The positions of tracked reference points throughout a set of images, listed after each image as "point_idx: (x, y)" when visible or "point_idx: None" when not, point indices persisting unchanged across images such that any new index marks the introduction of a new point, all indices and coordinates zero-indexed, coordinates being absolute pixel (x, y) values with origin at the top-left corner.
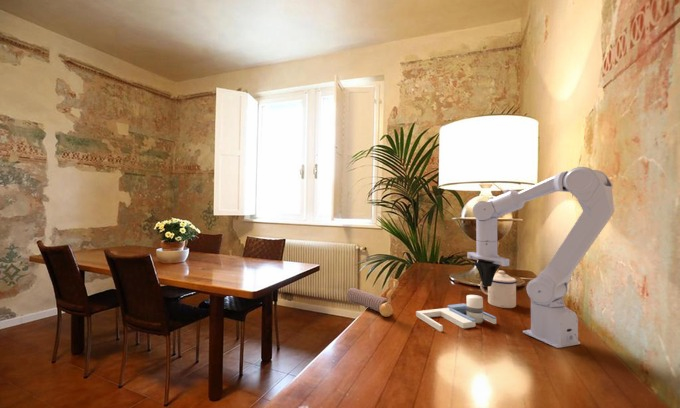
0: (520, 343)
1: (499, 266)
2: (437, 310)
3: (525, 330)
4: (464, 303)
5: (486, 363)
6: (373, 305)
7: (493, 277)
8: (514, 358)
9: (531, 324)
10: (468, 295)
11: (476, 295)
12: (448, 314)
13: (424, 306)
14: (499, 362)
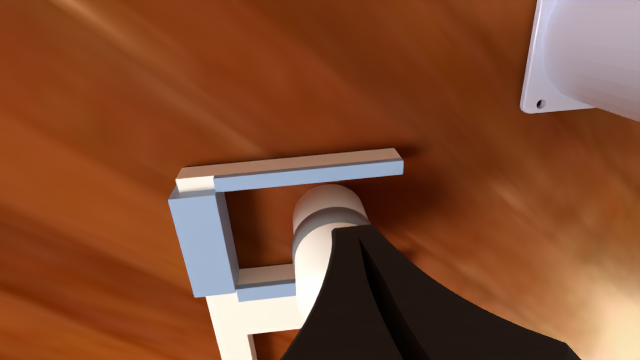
0: (571, 192)
1: (563, 345)
2: (236, 342)
3: (528, 95)
4: (170, 199)
5: (590, 351)
6: None
7: (414, 266)
8: (617, 278)
9: (591, 103)
10: (309, 312)
11: (319, 269)
12: (294, 324)
13: (109, 328)
14: (605, 324)
